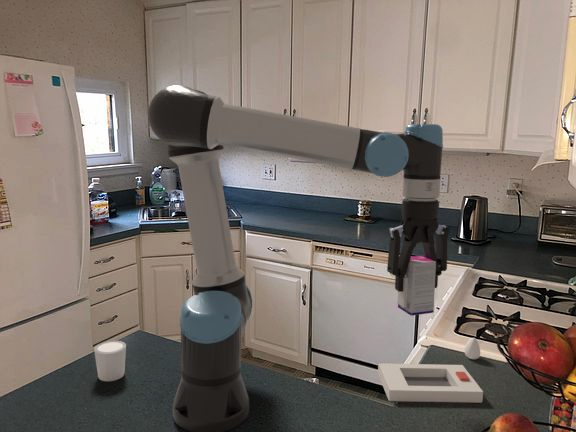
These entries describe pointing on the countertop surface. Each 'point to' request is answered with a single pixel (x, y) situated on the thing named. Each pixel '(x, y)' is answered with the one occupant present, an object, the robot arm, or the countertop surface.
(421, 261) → the supplement box
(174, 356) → the countertop surface
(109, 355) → the white candle
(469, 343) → the egg
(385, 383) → the socket plate
